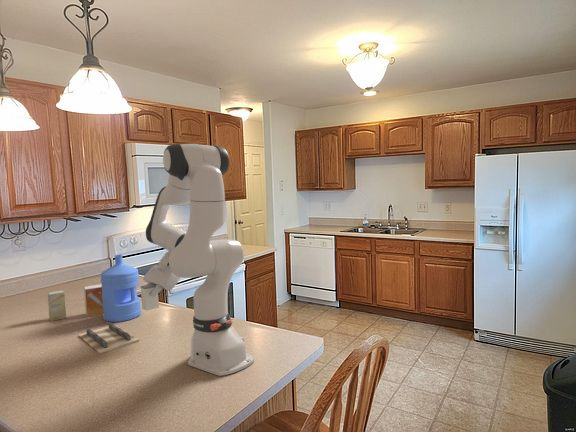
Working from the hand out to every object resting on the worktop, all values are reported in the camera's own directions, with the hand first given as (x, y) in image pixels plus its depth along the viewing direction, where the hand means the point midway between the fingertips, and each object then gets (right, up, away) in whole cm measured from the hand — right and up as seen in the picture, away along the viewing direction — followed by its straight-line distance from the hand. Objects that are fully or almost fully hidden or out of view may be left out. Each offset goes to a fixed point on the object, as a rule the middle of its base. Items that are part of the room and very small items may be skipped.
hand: (148, 294), depth 150 cm
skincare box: (-50, -16, +24) cm, 57 cm away
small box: (-35, -15, +29) cm, 47 cm away
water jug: (-20, -15, +23) cm, 34 cm away
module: (+1, -5, +1) cm, 5 cm away
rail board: (-15, -16, -2) cm, 22 cm away
